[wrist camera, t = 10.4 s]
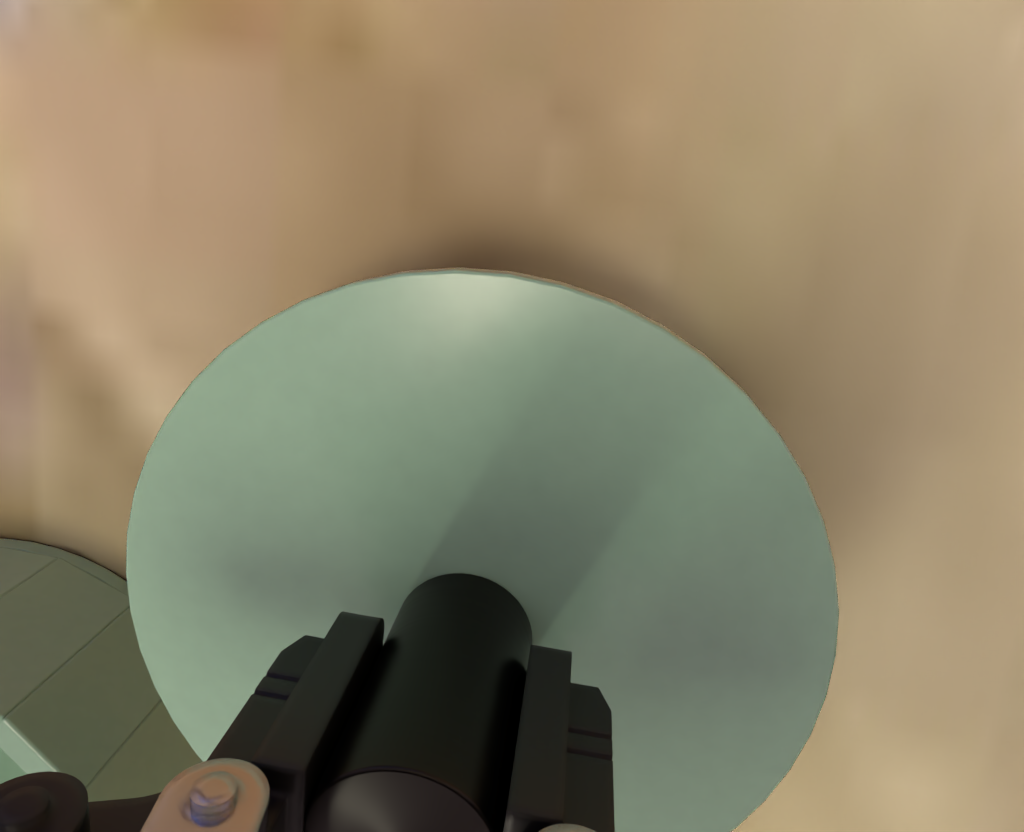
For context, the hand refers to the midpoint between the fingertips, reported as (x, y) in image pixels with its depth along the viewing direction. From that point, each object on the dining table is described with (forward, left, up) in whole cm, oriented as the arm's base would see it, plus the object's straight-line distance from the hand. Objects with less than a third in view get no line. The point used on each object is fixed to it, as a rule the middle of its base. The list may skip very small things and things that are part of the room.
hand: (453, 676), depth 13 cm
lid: (0, 0, -2) cm, 2 cm away
